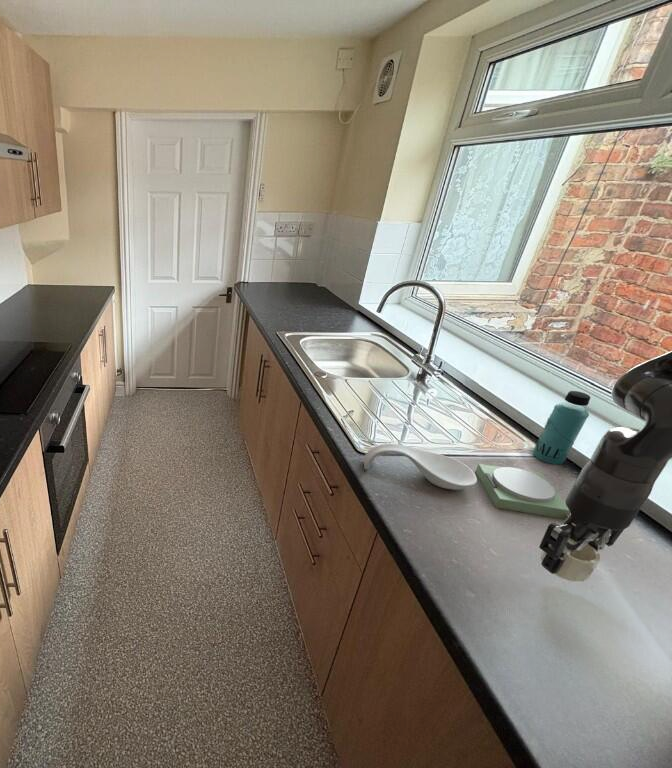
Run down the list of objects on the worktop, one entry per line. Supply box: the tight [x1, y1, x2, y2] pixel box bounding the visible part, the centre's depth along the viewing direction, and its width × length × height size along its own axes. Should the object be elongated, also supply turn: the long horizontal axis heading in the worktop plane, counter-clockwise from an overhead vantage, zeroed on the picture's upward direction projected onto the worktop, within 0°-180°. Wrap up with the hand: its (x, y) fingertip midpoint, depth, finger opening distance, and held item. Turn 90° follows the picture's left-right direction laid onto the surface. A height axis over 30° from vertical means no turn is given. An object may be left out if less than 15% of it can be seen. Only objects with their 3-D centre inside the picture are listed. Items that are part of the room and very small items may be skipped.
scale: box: [474, 463, 571, 520], centre depth 95 cm, size 13×13×4 cm
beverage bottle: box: [532, 390, 591, 465], centre depth 102 cm, size 6×7×20 cm
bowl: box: [540, 538, 601, 582], centre depth 71 cm, size 6×6×5 cm
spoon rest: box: [363, 443, 478, 491], centre depth 101 cm, size 24×12×7 cm, turn 70°
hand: (564, 565), depth 72 cm, fingers closed on bowl, 6 cm apart
